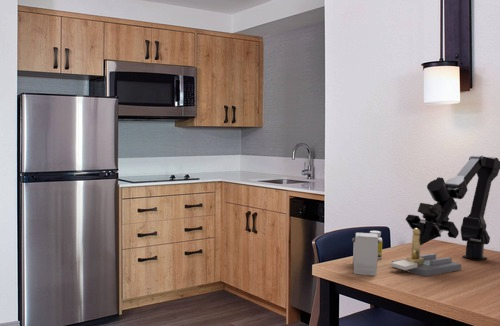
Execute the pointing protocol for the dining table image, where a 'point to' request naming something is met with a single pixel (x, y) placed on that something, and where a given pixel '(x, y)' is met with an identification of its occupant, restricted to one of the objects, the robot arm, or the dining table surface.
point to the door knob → (416, 248)
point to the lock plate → (434, 265)
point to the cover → (404, 264)
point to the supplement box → (365, 254)
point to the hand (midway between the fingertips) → (419, 244)
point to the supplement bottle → (379, 243)
